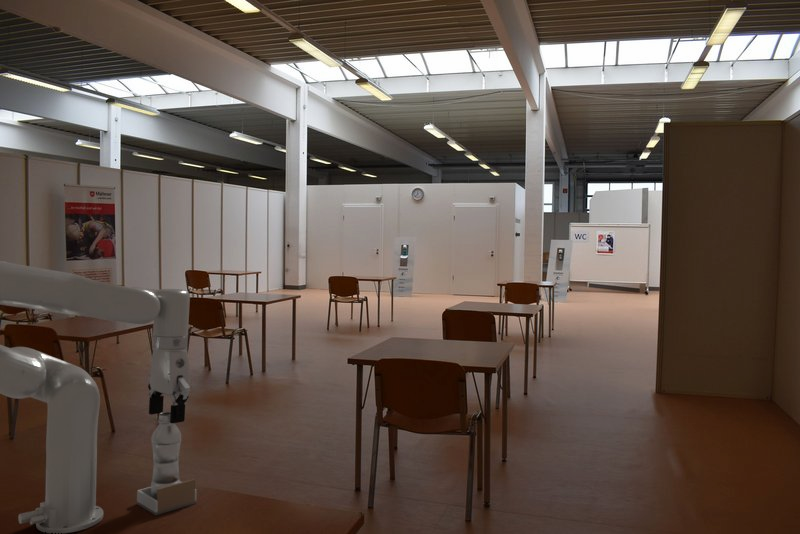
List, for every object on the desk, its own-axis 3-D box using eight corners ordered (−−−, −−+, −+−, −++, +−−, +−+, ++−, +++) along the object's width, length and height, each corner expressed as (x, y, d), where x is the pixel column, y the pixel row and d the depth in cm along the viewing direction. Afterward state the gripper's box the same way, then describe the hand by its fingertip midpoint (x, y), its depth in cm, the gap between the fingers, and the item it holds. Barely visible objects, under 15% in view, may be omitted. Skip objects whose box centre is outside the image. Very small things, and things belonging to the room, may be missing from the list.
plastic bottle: (171, 507, 139) (173, 418, 138) (143, 504, 140) (145, 416, 140) (186, 496, 145) (188, 411, 145) (159, 493, 146) (161, 409, 146)
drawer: (155, 515, 136) (156, 490, 136) (136, 503, 142) (137, 479, 142) (196, 502, 143) (197, 478, 143) (176, 492, 149) (177, 469, 149)
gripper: (205, 346, 139) (201, 423, 139) (166, 337, 150) (163, 408, 150) (174, 349, 133) (169, 428, 133) (136, 339, 145) (132, 412, 145)
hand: (166, 417), depth 142 cm, fingers open, 9 cm apart
